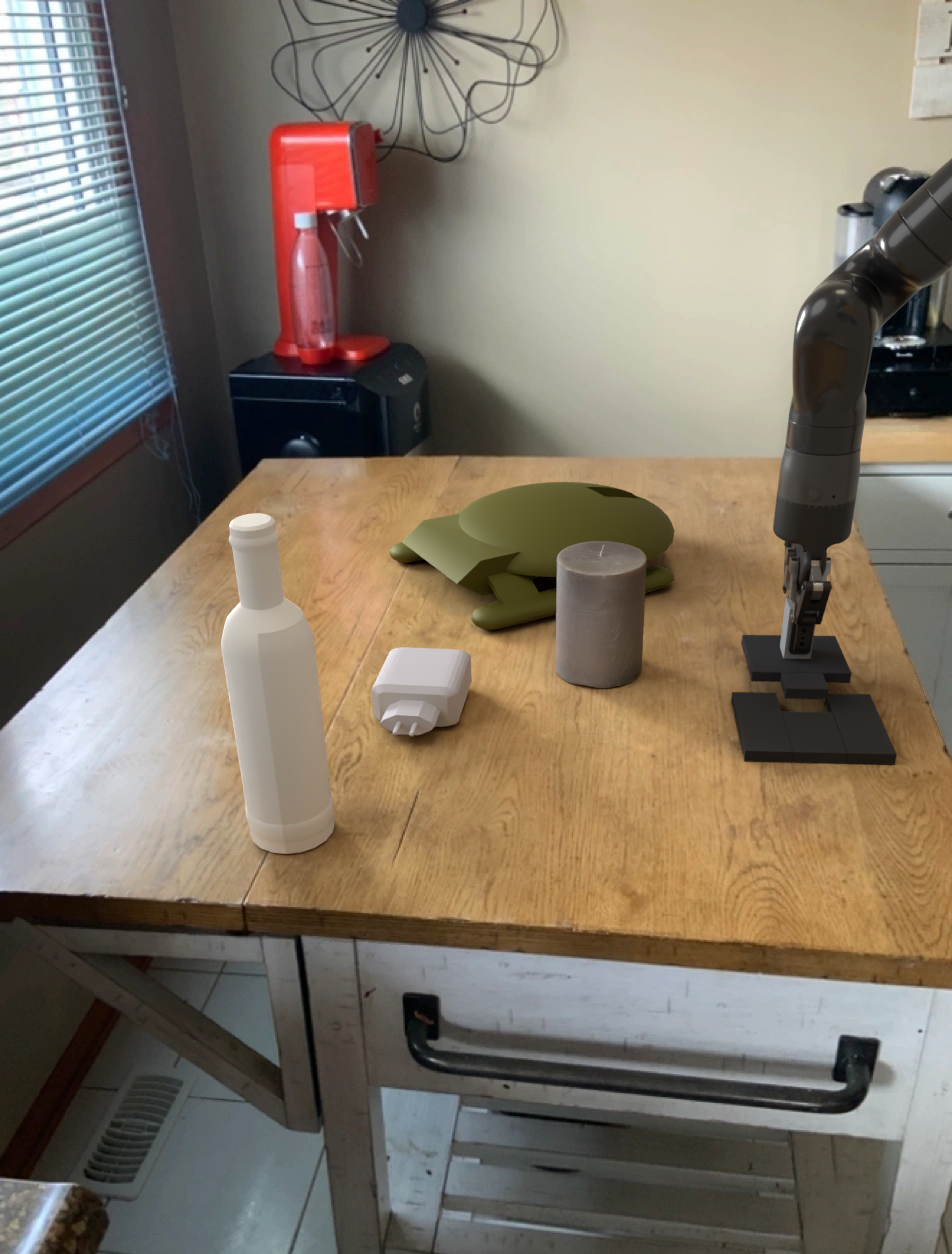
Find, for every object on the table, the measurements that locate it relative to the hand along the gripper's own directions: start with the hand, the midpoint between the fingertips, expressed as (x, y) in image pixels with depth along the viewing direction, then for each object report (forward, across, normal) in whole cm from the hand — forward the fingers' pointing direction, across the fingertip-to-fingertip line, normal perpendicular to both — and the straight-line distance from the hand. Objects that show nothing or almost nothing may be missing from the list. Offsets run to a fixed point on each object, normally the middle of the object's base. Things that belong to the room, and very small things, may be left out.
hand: (796, 645), depth 121 cm
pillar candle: (+5, +2, +21) cm, 22 cm away
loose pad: (+2, -2, 0) cm, 3 cm away
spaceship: (+5, +32, +28) cm, 43 cm away
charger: (+5, -10, +40) cm, 41 cm away
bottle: (+5, -30, +49) cm, 58 cm away
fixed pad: (+5, -11, 0) cm, 12 cm away
